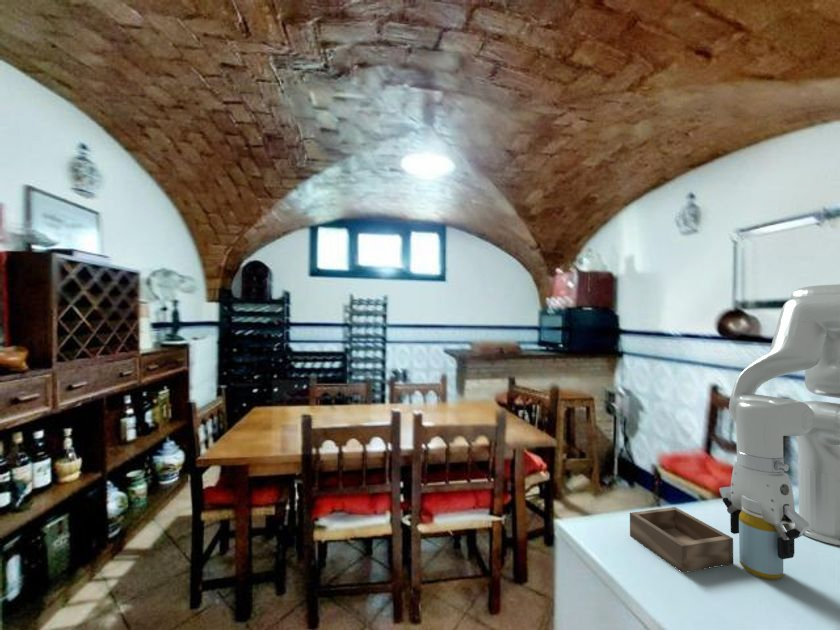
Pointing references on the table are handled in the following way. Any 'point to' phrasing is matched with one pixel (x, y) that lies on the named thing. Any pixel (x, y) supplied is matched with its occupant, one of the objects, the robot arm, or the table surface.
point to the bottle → (758, 542)
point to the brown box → (681, 539)
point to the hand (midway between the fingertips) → (760, 544)
